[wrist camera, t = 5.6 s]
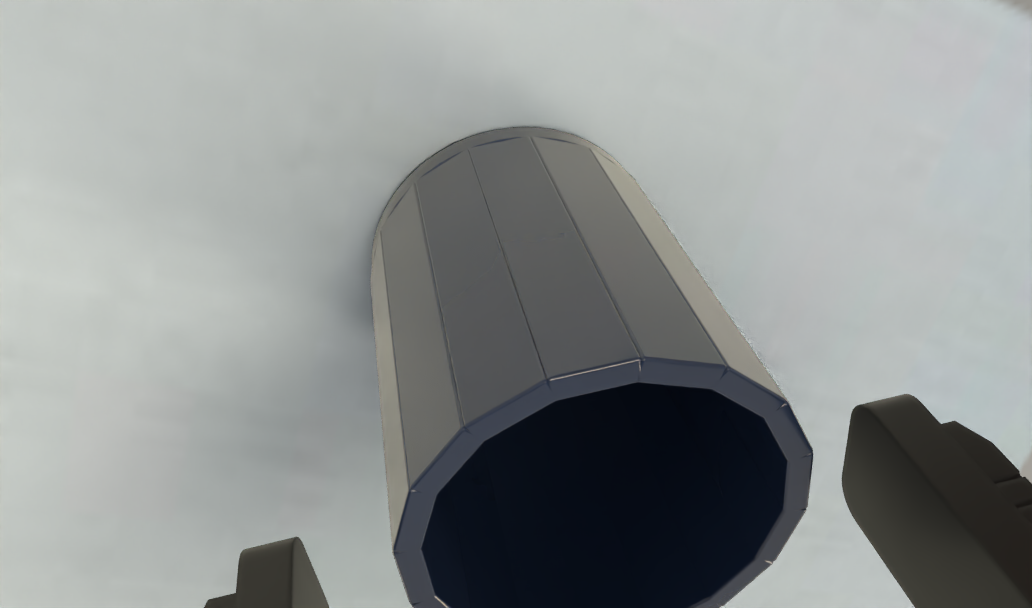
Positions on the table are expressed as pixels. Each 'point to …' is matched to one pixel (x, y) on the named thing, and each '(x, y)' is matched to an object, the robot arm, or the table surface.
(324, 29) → the table surface
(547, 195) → the pot
